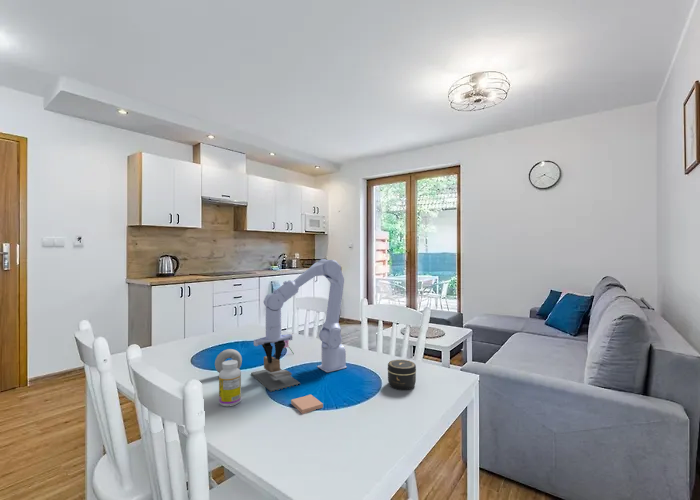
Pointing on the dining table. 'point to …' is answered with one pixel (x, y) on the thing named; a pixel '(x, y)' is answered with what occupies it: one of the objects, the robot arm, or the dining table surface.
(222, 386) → the supplement bottle
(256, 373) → the mat
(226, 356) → the donut
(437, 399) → the dining table surface
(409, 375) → the jar
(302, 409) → the tile
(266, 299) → the robot arm
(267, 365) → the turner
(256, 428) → the dining table surface
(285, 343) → the lily
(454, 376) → the dining table surface
